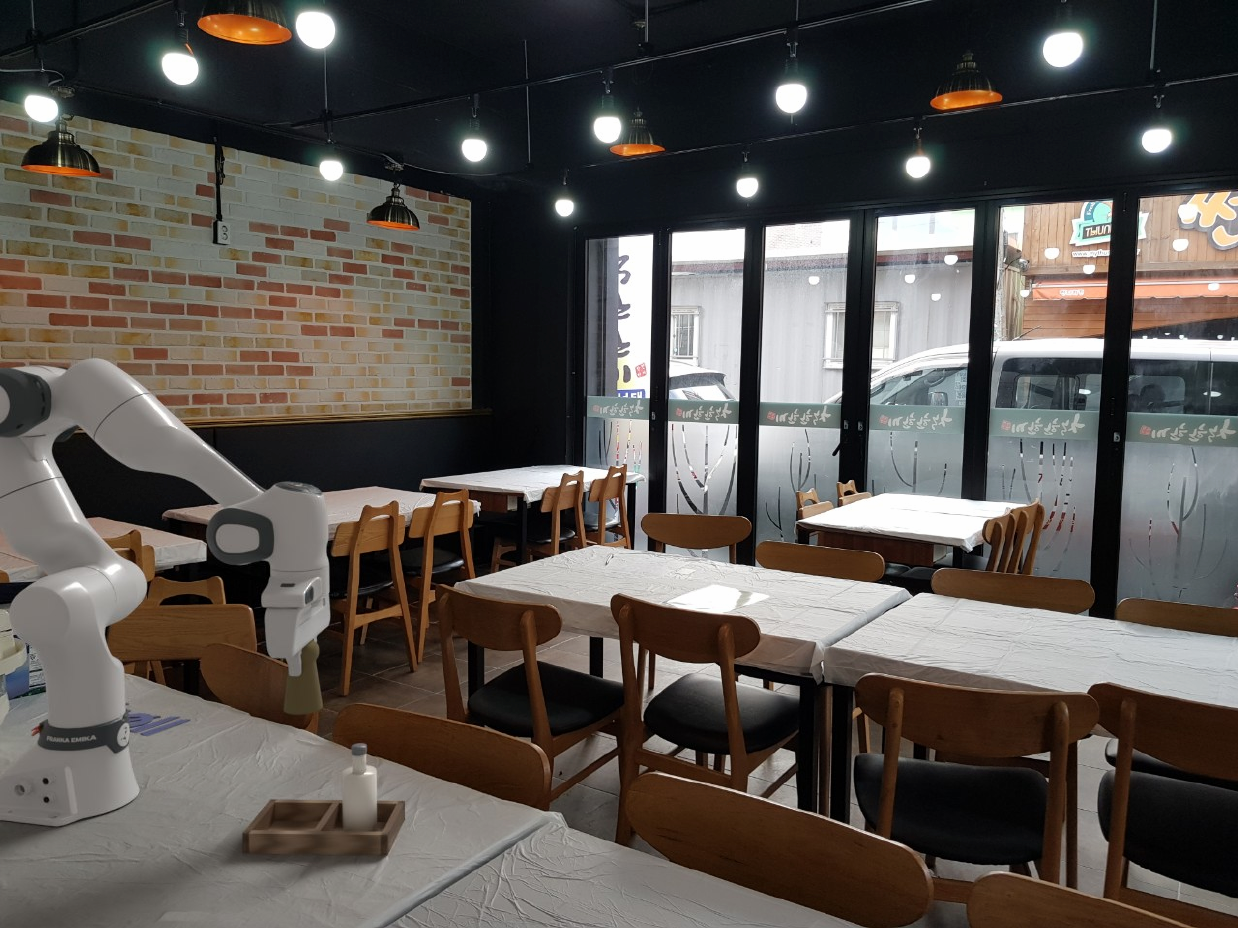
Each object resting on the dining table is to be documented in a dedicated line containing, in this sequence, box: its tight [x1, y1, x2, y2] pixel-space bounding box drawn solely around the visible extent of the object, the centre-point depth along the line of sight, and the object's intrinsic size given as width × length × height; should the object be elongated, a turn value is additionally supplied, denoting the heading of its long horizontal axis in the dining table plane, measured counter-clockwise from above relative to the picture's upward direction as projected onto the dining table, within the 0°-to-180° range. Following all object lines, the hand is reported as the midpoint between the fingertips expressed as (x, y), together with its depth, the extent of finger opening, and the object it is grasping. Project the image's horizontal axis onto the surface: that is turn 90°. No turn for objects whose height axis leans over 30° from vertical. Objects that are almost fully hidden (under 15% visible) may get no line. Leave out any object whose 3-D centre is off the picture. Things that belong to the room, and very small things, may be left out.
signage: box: [125, 702, 191, 737], centre depth 190 cm, size 28×1×10 cm
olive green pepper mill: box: [283, 640, 324, 716], centre depth 148 cm, size 6×6×11 cm
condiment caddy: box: [241, 798, 406, 856], centre depth 139 cm, size 21×11×4 cm, turn 90°
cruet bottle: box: [341, 742, 378, 832], centre depth 138 cm, size 5×5×14 cm
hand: (301, 669), depth 148 cm, fingers closed on olive green pepper mill, 4 cm apart
